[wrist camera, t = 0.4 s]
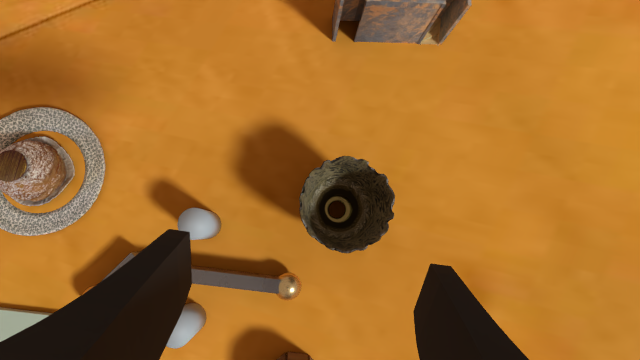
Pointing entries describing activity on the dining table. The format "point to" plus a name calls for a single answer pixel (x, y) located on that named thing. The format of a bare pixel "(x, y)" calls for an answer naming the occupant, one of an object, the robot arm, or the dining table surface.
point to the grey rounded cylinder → (199, 223)
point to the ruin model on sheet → (400, 19)
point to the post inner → (187, 325)
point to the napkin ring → (295, 356)
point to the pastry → (45, 170)
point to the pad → (17, 321)
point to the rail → (238, 280)
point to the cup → (346, 204)
